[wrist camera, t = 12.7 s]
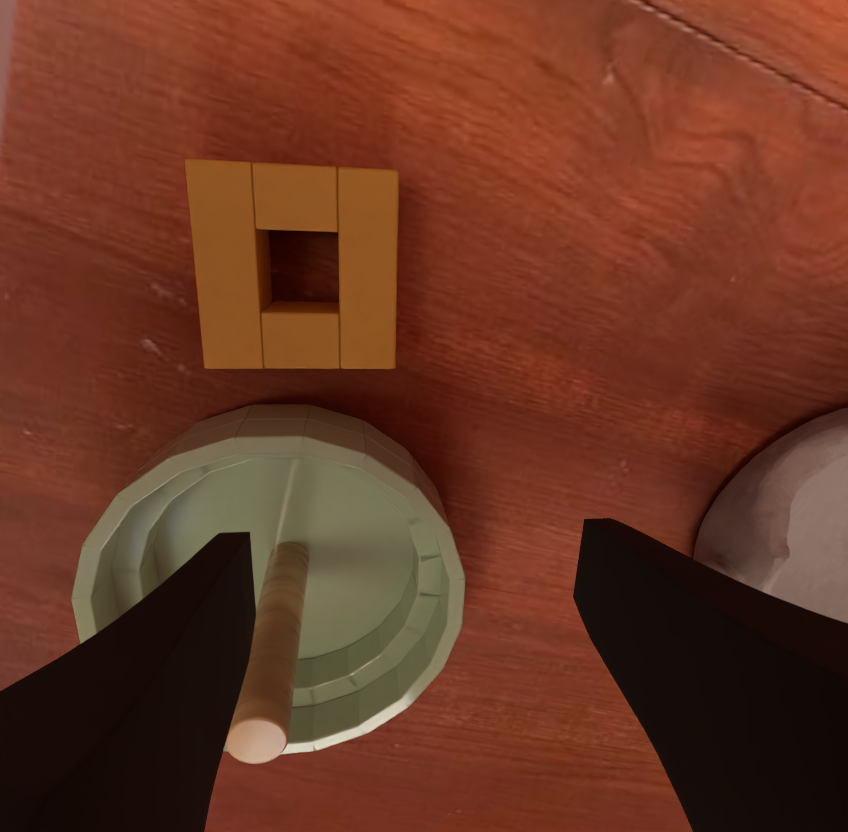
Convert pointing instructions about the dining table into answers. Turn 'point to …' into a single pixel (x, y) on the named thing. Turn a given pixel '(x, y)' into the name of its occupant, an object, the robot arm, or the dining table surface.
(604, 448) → the dining table surface
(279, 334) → the stand
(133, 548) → the bowl
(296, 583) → the stick
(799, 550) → the dish
